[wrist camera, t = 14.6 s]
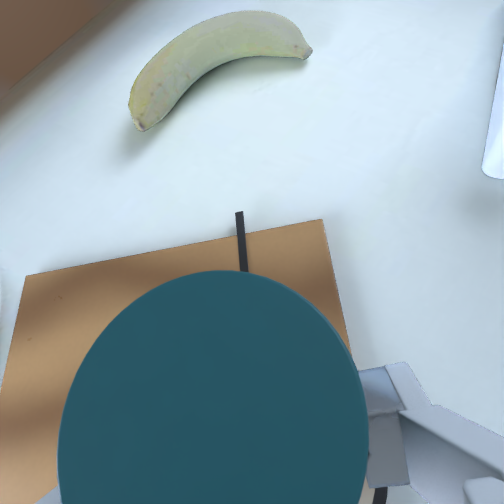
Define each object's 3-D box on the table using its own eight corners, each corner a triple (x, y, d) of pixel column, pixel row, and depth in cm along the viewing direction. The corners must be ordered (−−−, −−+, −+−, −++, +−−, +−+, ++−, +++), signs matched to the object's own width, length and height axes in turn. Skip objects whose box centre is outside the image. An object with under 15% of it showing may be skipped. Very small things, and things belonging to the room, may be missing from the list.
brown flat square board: (440, 688, 14) (445, 699, 13) (-57, 696, 17) (-73, 705, 16) (327, 200, 24) (327, 193, 24) (36, 258, 27) (28, 254, 27)
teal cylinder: (364, 502, 13) (415, 623, 4) (249, 512, 14) (26, 640, 4) (340, 380, 15) (332, 246, 5) (241, 393, 16) (76, 293, 6)
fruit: (124, 95, 34) (103, 62, 31) (275, 18, 34) (269, -21, 31) (147, 146, 30) (126, 113, 27) (315, 59, 31) (312, 18, 28)
